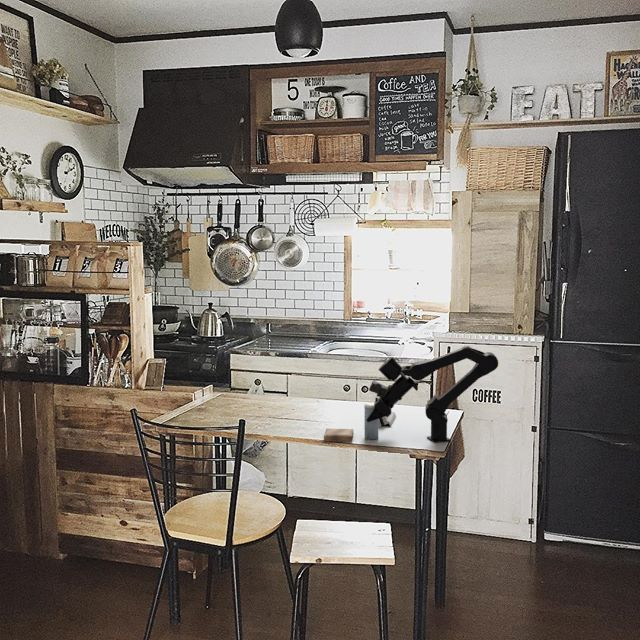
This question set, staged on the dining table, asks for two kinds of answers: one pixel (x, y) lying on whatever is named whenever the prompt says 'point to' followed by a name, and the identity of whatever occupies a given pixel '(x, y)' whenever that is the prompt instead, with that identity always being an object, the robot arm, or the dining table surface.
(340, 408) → the dining table surface
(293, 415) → the dining table surface
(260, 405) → the dining table surface
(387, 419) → the hinge
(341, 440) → the stand
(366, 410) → the tin
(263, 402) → the dining table surface
